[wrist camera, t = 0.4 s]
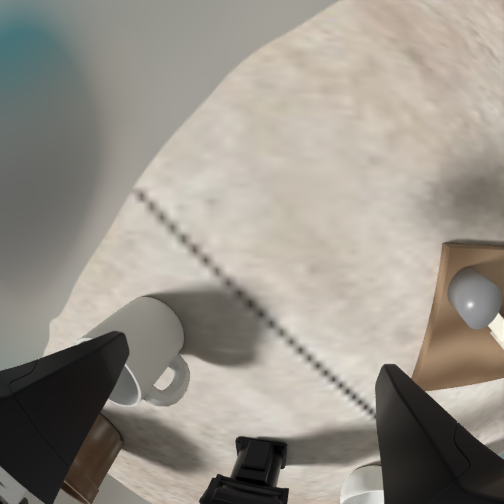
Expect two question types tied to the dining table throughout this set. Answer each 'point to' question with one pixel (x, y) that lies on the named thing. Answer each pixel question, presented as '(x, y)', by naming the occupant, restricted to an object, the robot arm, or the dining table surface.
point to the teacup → (363, 486)
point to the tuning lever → (477, 302)
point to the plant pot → (93, 461)
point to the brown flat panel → (460, 326)
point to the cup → (147, 352)
